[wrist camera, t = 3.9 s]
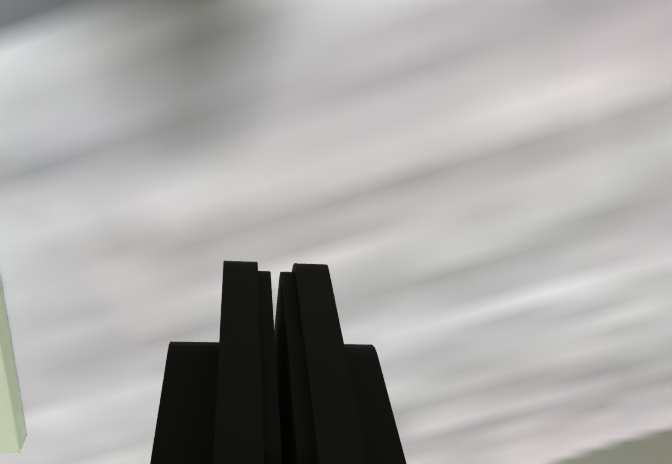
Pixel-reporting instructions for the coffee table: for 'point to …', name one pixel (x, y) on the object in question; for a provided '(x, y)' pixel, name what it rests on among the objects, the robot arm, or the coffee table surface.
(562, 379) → the coffee table surface
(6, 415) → the rubber mat
